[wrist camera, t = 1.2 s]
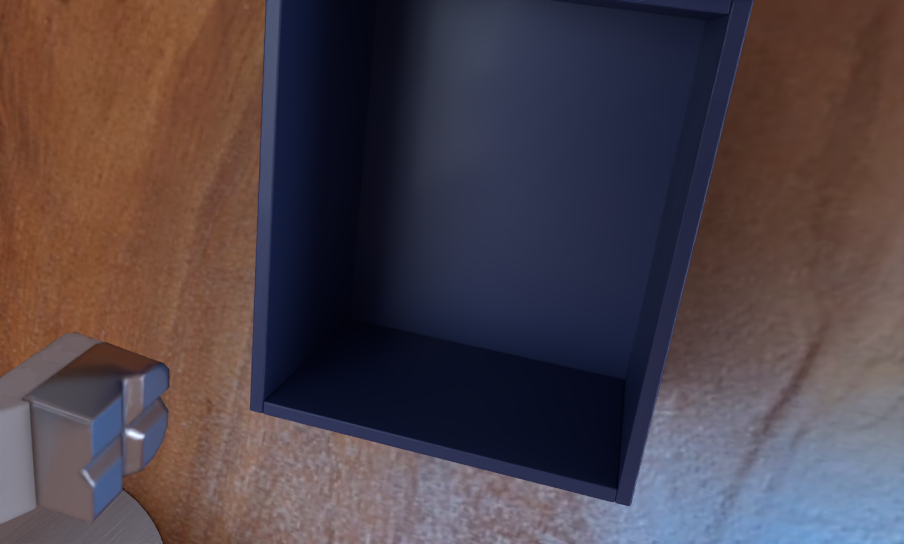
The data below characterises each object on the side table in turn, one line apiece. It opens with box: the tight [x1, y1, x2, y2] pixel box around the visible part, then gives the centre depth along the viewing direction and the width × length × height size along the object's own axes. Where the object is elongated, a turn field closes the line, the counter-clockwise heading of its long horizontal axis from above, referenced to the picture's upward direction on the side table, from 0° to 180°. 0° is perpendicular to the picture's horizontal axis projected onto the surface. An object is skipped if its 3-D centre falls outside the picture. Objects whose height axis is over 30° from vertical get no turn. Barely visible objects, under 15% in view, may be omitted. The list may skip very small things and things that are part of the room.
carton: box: [250, 0, 754, 506], centre depth 26 cm, size 15×13×8 cm
